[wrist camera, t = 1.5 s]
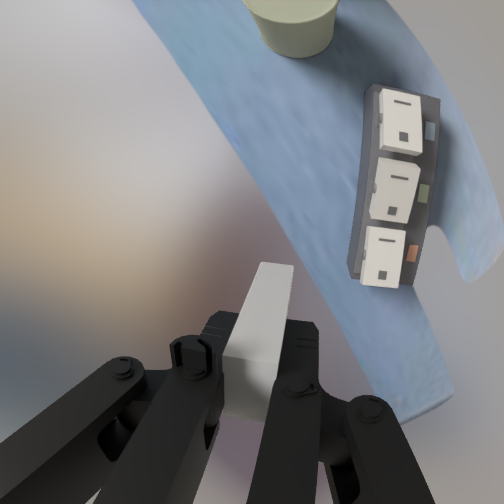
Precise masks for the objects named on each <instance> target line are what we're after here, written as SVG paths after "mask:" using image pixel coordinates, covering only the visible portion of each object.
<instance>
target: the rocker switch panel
mask: <svg viewBox="0 0 504 504" xmlns="http://www.w3.org/2000/svg"><path fill="white" fill-rule="evenodd" d="M382 89H389V90H393V91H398V92H403V93H407V94H411V95H416V96H420V102H421V119H422V153H421V154H419V155H418V156H414V155H409V154H404V153H399V152H393V151H387V150H382V149H380V123H379V114H380V103H379V94H380V92H381V91H382ZM439 124H440V99H438V98H434V97H430V96H427V95H423V94H419V93H415V92H411V91H407V90H402V89H398V88H393V87H388V86H383V85H377V84H372V85H371V86H370V87H369V88H368V89H367V90H365V97H364V118H363V134H362V147H361V159H360V170H359V179H358V188H357V197H356V205H355V212H354V220H353V227H352V233H351V240H350V246H349V252H348V258H347V265H348V269H349V272H350V276H351V279H359V280H360V277H361V270H362V262H363V259H362V253H363V250H364V246H365V238H366V228H367V226H373V227H380V228H388V229H395V230H402V231H406V233H405V242H404V250H403V262H402V265H401V272H400V278H399V284H408V285H413V282H414V279H415V275H416V271H417V267H418V263H419V259H420V255H421V251H422V246H423V242H424V237H425V232H426V227H427V222H428V217H429V211H430V206H431V200H432V193H433V186H434V179H435V171H436V162H437V152H438V140H439ZM379 157H381V158H387V159H393V160H399V161H404V162H409V163H414V164H416V165H417V166H418V167H419V168H420V169H421V170H420V175H419V179H418V183H417V188H416V192H415V198H414V200H413V204H412V208H411V211H410V215H409V219H408V222H407V224H406V223H399V222H392V221H385V220H378V219H371V216H370V213H369V209H370V204H371V199H372V193H373V192H372V187H373V183H375V177H376V171H377V165H378V159H379Z"/></svg>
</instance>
